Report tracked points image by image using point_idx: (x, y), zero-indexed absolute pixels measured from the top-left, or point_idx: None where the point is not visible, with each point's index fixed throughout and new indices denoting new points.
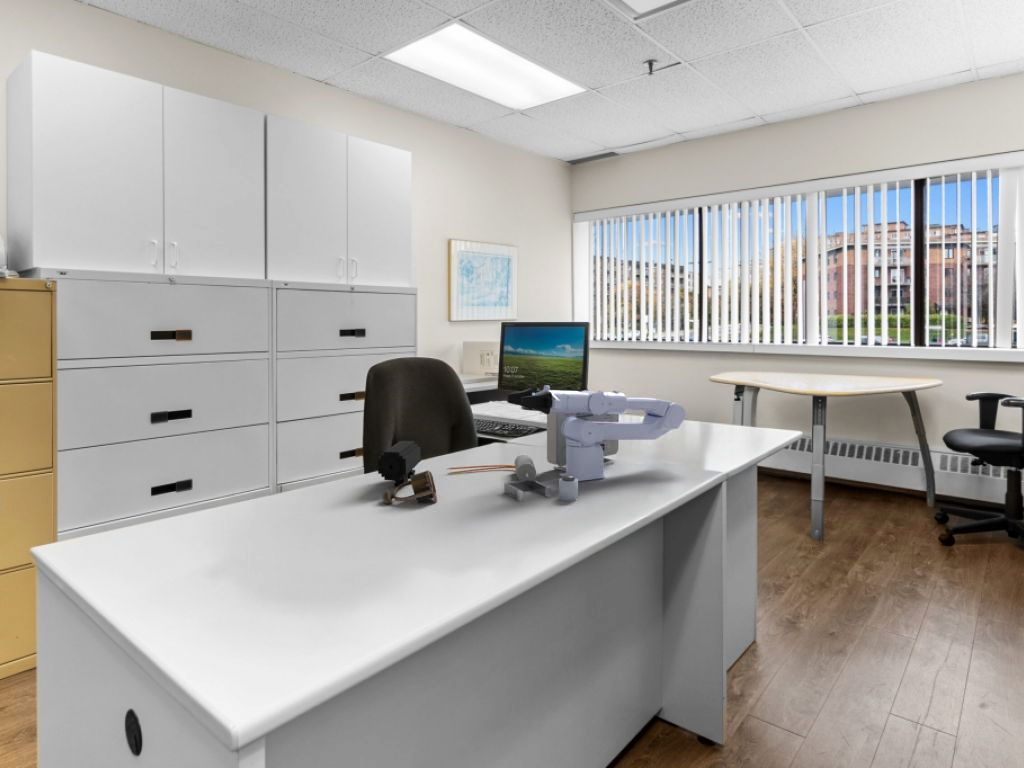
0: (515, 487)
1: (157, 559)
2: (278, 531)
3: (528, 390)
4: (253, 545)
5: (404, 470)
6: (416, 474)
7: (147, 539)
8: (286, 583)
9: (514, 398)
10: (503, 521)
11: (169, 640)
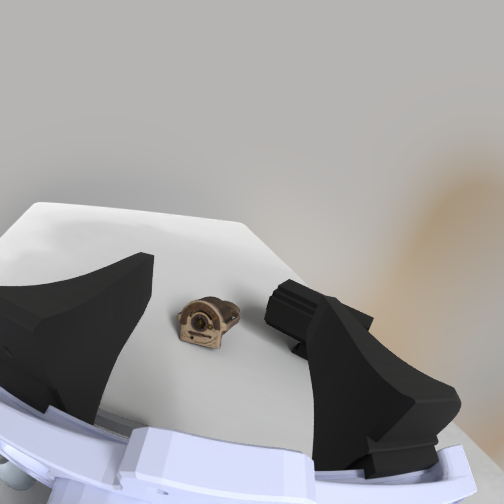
0: (108, 418)
1: (189, 226)
2: (195, 252)
3: (382, 377)
4: (176, 241)
5: (266, 313)
6: (213, 299)
7: (228, 233)
8: (103, 228)
9: (322, 338)
10: None
11: (96, 208)
